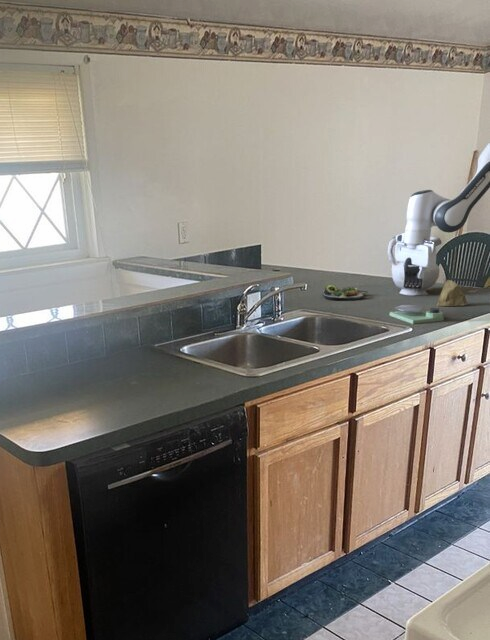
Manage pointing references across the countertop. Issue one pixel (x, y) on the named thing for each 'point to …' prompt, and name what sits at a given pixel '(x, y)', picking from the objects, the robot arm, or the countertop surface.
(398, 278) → the ceramic pitcher
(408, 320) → the scale
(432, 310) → the tare button
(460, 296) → the rock
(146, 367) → the countertop surface
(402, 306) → the scale pan
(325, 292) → the salad plate
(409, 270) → the battery charger
